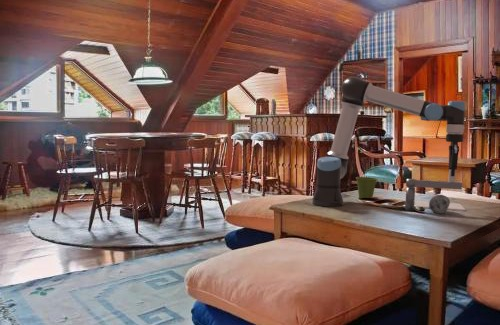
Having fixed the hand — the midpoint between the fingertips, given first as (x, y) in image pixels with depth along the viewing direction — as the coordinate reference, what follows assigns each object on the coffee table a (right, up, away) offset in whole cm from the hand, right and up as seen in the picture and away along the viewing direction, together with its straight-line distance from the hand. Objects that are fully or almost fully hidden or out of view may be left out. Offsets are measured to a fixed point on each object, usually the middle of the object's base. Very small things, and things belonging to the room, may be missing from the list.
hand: (451, 182), depth 216 cm
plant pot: (-33, -10, +32) cm, 47 cm away
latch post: (-21, -13, -1) cm, 24 cm away
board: (-2, -13, +11) cm, 17 cm away
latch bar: (-11, -2, -4) cm, 12 cm away
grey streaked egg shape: (-8, -14, -4) cm, 17 cm away
